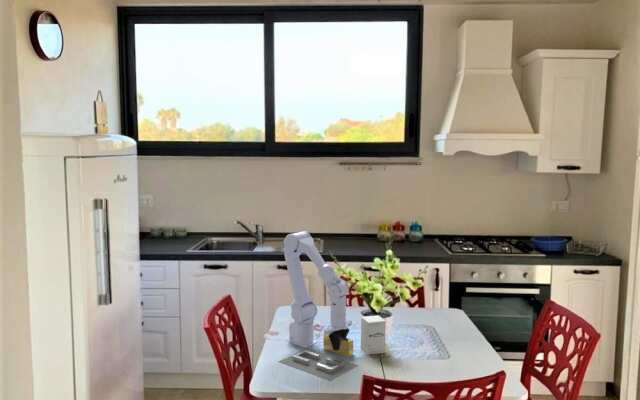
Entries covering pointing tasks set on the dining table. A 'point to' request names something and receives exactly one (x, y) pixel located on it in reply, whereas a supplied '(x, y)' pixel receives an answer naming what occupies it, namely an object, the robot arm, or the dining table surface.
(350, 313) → the dining table surface
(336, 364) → the pair of white brackets
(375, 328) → the supplement box
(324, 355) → the mat
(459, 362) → the dining table surface
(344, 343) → the yellow gripped block
